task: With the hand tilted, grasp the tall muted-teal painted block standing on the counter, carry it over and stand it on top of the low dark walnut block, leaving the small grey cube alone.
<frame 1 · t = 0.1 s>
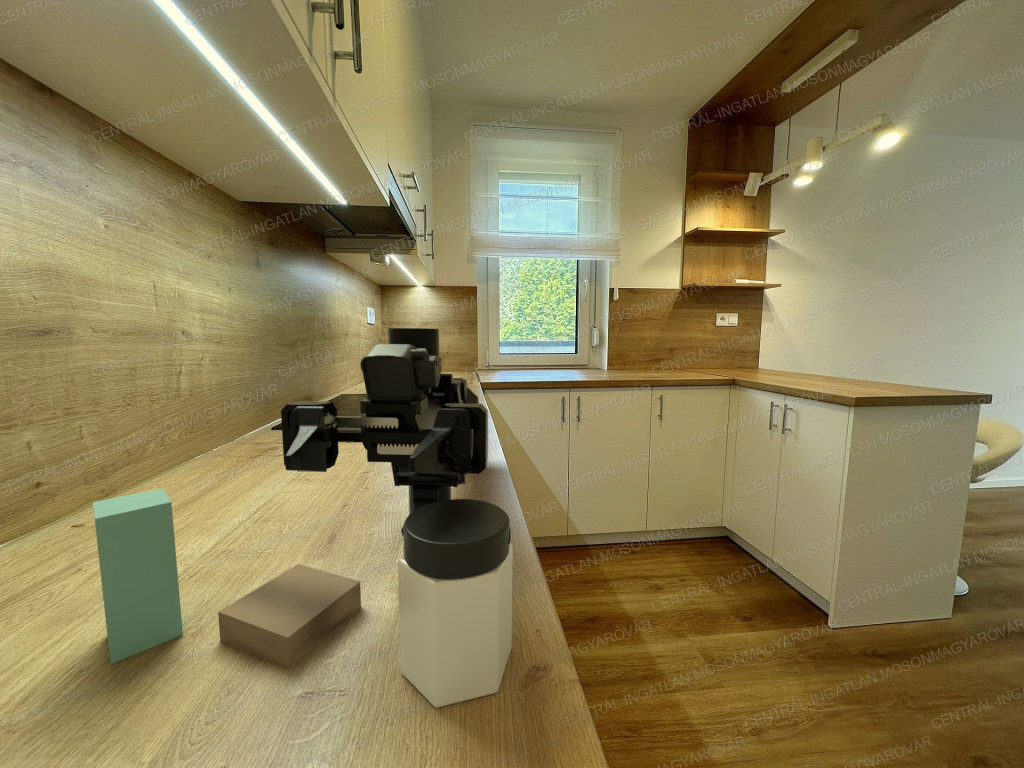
hand: (349, 464, 30), 17 cm above the countertop, tool horizontal, fingers open, 9 cm apart
jar: (458, 663, 33), on the countertop
walnut block: (295, 626, 37), on the countertop
teal block: (145, 635, 35), on the countertop
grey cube: (437, 592, 42), on the countertop
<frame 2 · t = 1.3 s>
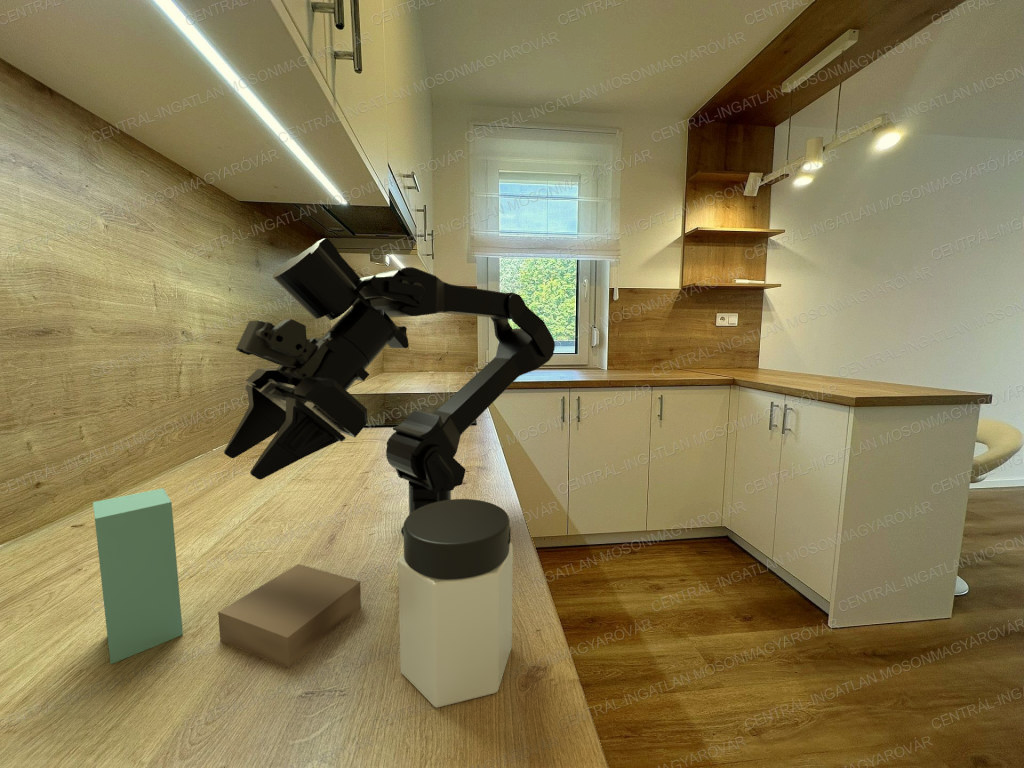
hand: (240, 465, 40), 13 cm above the countertop, tool tilted 45°, fingers open, 9 cm apart
nothing on the countertop moved.
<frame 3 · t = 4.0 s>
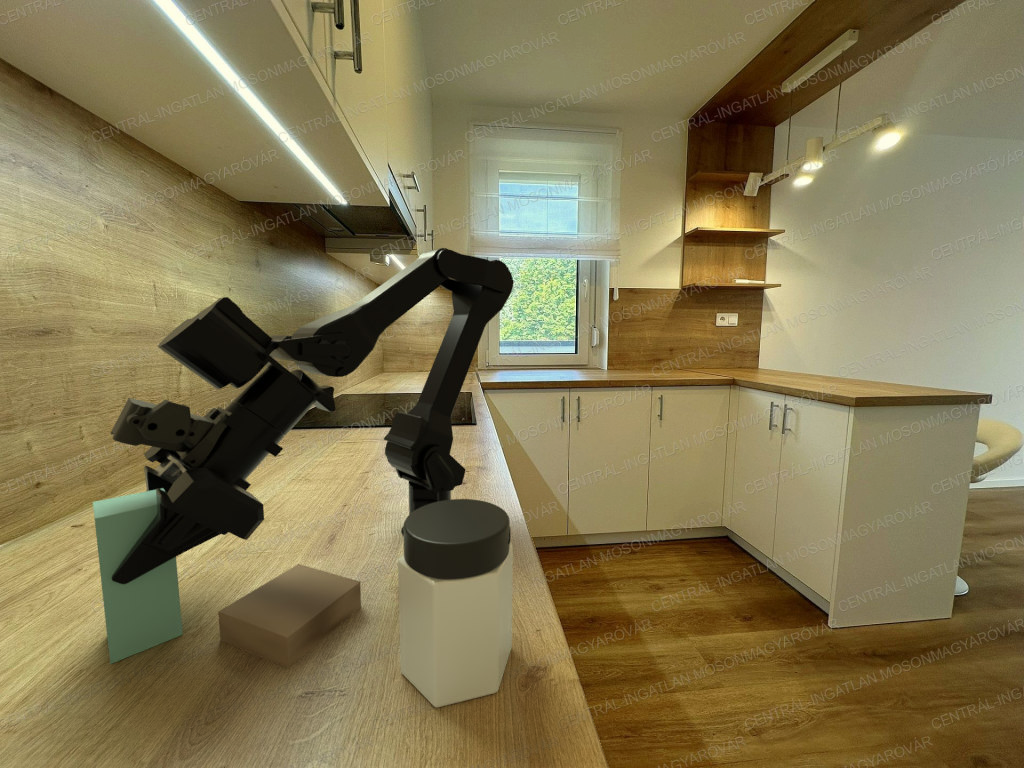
hand: (115, 569, 34), 7 cm above the countertop, tool tilted 45°, fingers closed on teal block, 4 cm apart
teal block: (145, 635, 35), on the countertop, touching gripper
everything else where it was.
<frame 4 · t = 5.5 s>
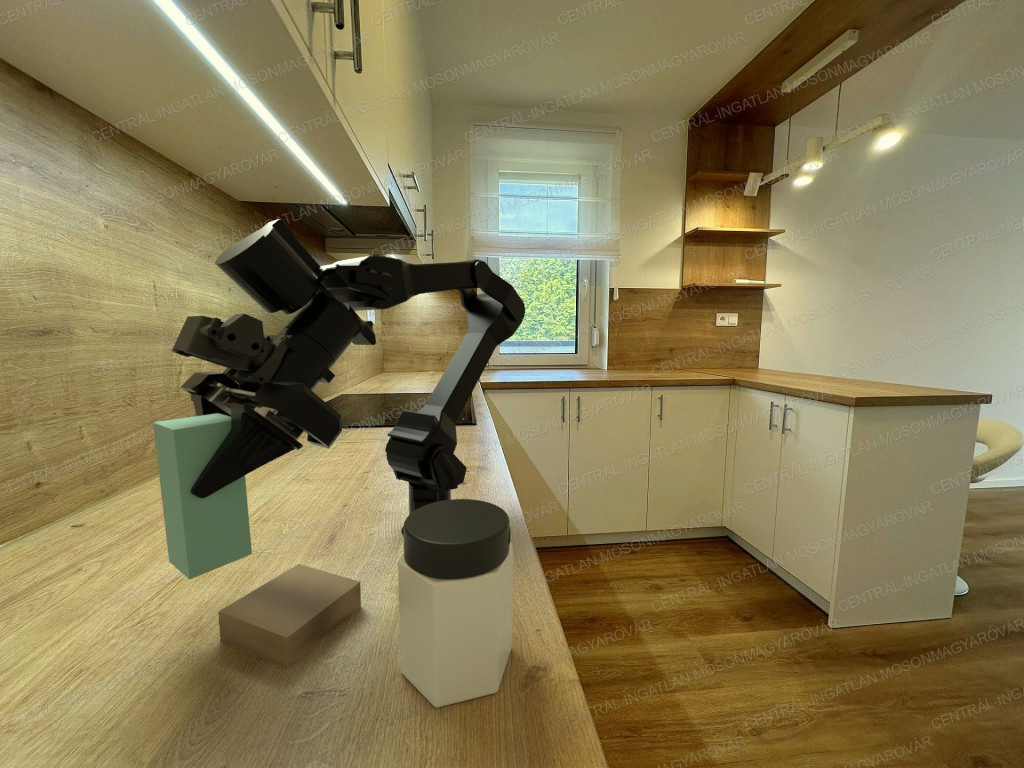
hand: (184, 489, 33), 13 cm above the countertop, tool tilted 45°, fingers closed on teal block, 4 cm apart
teal block: (211, 557, 35), point 7 cm above the countertop, touching gripper
everything else where it was.
when the fingers open (10 cm above the countertop, at t = 6.9 s): teal block drops 1 cm, resting on walnut block.
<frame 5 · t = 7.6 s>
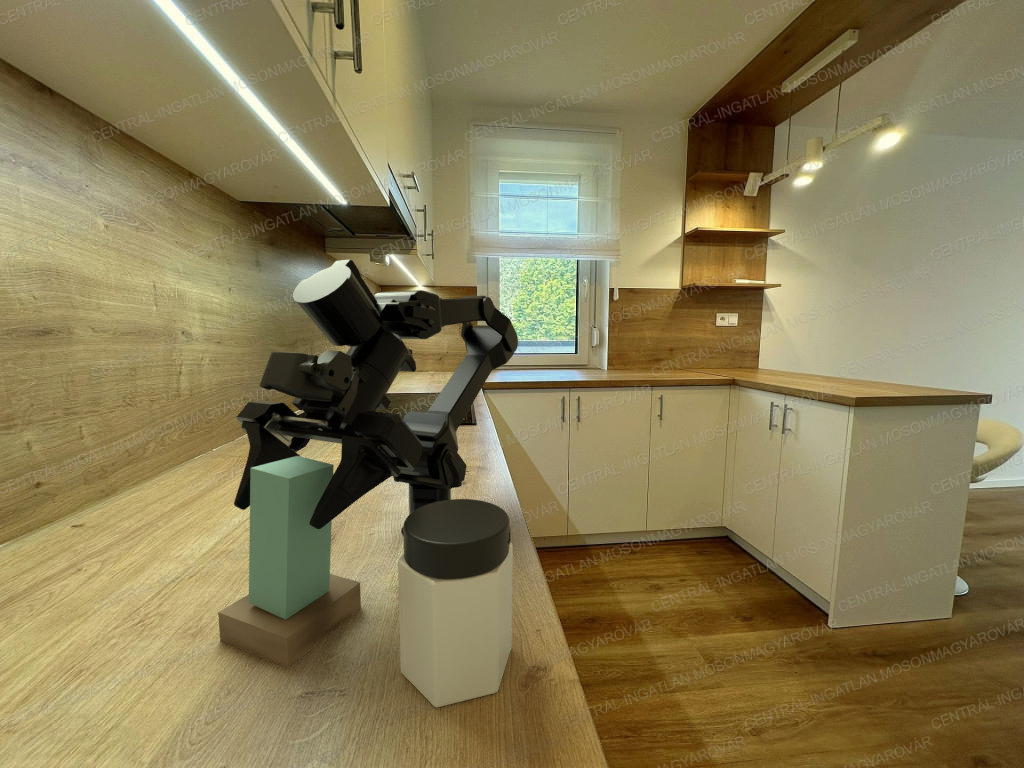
hand: (274, 517, 35), 11 cm above the countertop, tool tilted 45°, fingers open, 9 cm apart
walnut block: (294, 627, 37), on the countertop, touching teal block
teal block: (290, 596, 37), point 3 cm above the countertop, touching walnut block
everything else where it was.
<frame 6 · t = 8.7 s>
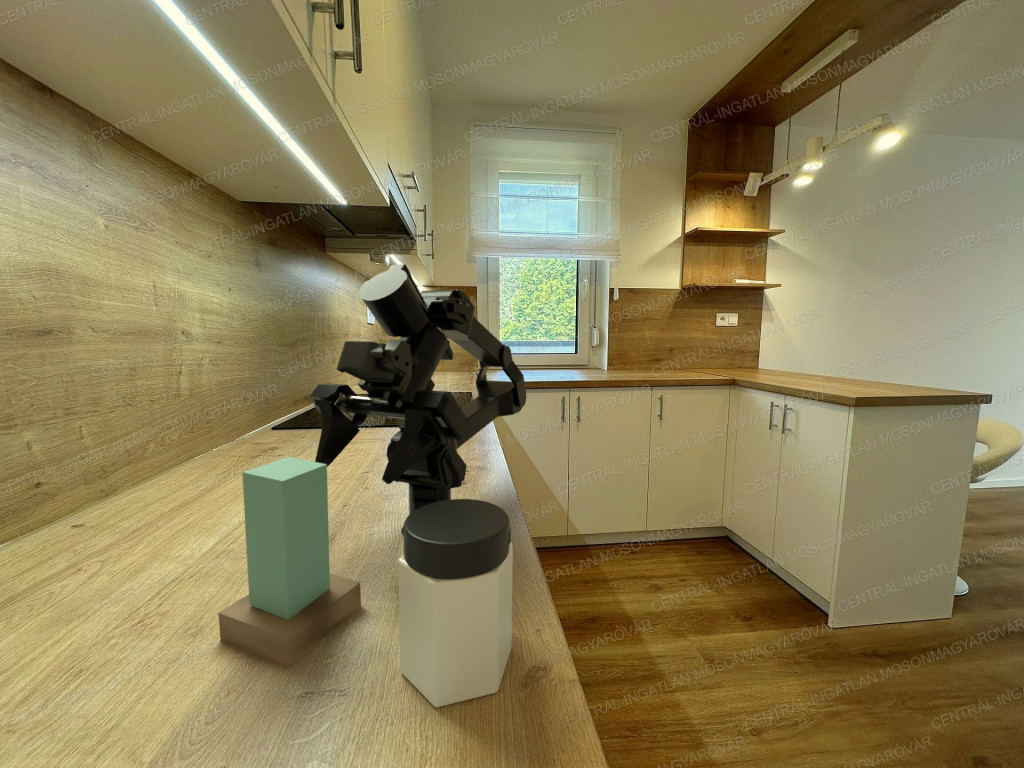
hand: (350, 475, 43), 11 cm above the countertop, tool tilted 45°, fingers open, 9 cm apart
nothing on the countertop moved.
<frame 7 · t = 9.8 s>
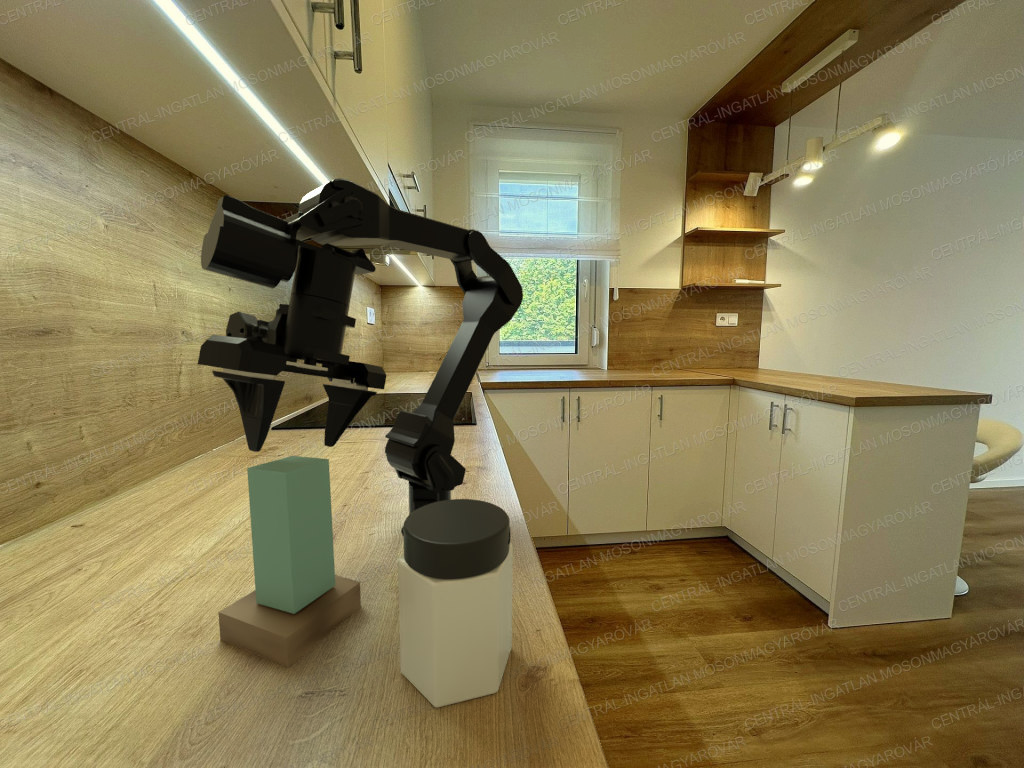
hand: (295, 448, 43), 14 cm above the countertop, tool pointing down, fingers open, 9 cm apart
walnut block: (295, 626, 37), on the countertop
teal block: (297, 593, 37), point 3 cm above the countertop
everything else where it was.
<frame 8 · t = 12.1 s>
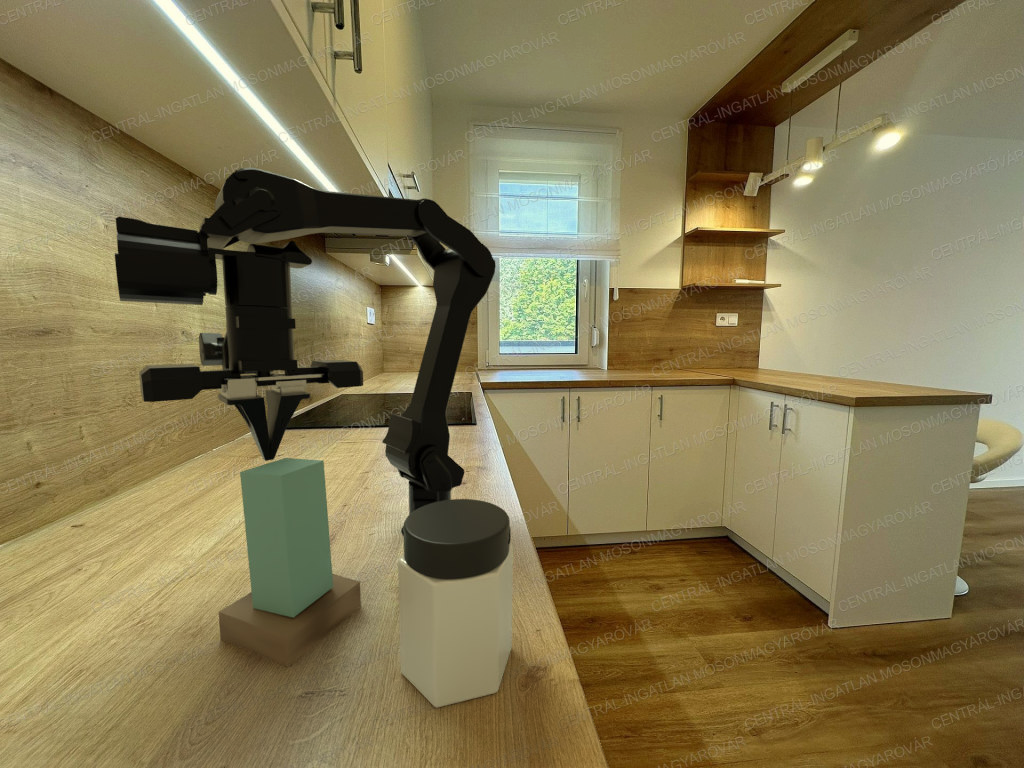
hand: (268, 459, 43), 13 cm above the countertop, tool pointing down, fingers closed
walnut block: (295, 626, 37), on the countertop, touching teal block
teal block: (294, 597, 37), point 3 cm above the countertop, touching walnut block
everything else where it was.
at the end: teal block inside the target area on the walnut block (0.4 cm from its centre), point 3.2 cm above the walnut block's base; teal block tilted 3°; the gripper is holding nothing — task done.
